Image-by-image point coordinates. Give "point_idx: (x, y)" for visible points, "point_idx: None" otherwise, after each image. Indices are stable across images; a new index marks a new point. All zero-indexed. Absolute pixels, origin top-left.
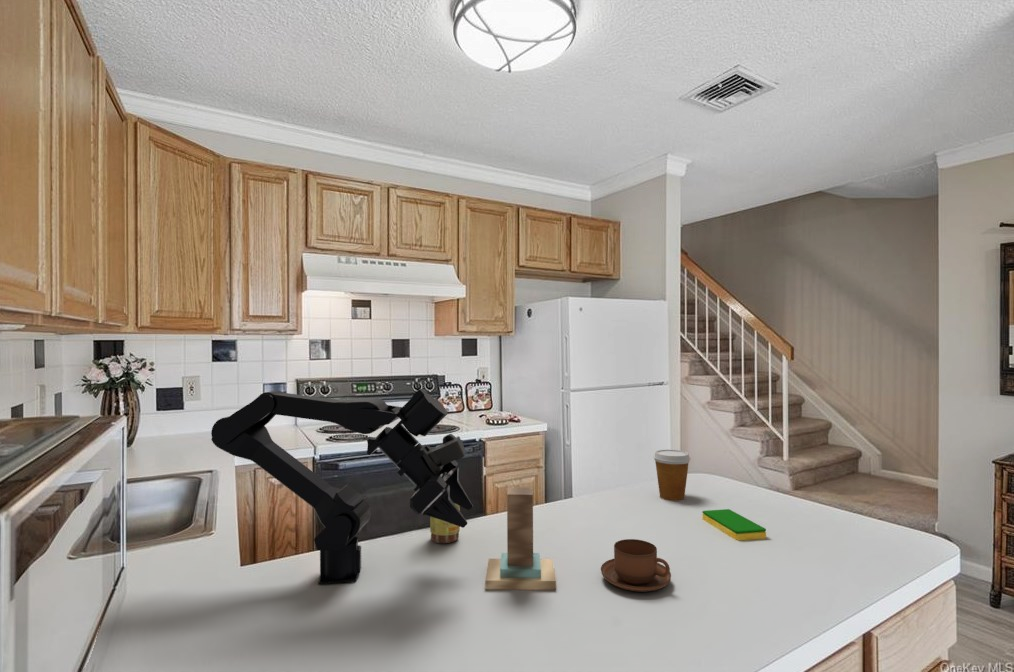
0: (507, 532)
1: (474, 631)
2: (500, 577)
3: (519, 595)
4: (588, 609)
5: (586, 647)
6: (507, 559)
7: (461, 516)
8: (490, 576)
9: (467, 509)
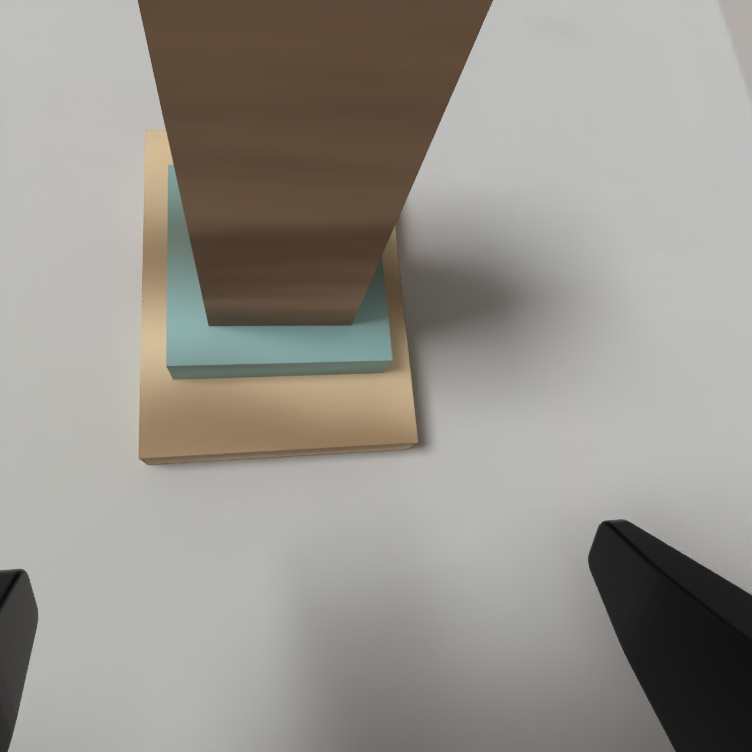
0: (390, 233)
1: (712, 449)
2: (383, 371)
3: (440, 302)
4: (502, 86)
5: (700, 128)
6: (356, 312)
7: (720, 576)
8: (371, 422)
9: (32, 638)
